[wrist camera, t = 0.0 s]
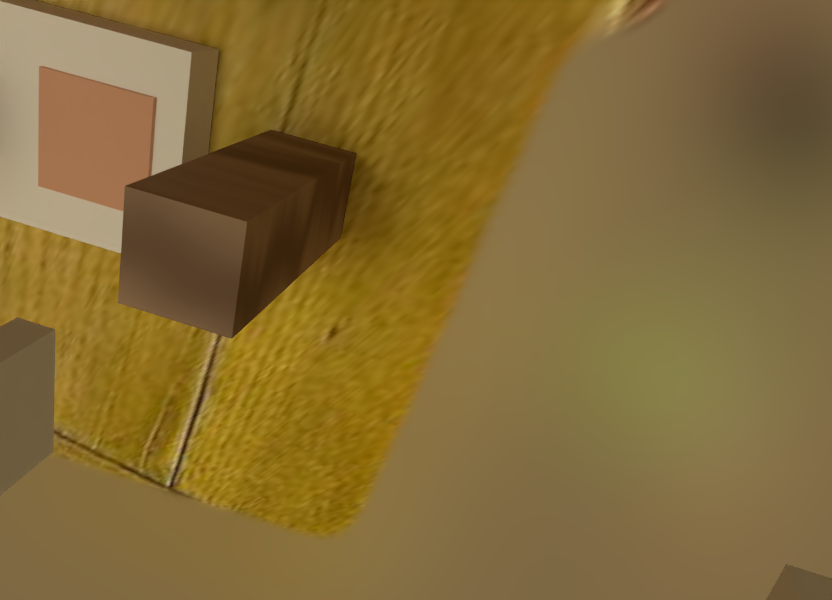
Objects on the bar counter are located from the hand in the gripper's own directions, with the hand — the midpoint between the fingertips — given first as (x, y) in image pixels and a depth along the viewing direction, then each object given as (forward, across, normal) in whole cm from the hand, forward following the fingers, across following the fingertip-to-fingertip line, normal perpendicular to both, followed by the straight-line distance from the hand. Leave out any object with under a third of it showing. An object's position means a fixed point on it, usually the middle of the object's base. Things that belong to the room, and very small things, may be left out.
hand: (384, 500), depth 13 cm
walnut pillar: (+28, -11, -4) cm, 30 cm away
